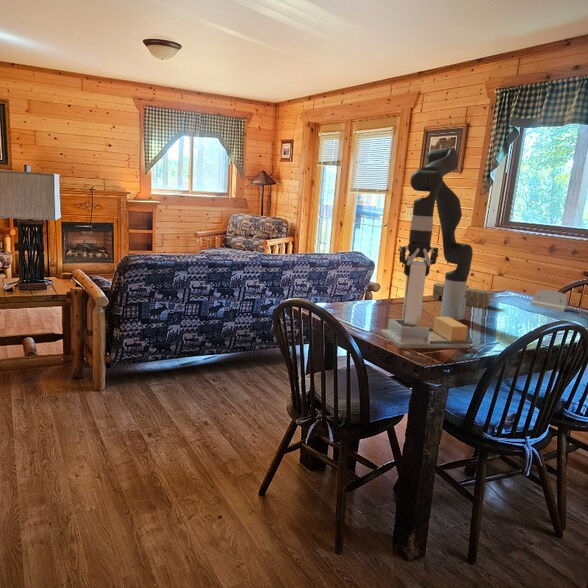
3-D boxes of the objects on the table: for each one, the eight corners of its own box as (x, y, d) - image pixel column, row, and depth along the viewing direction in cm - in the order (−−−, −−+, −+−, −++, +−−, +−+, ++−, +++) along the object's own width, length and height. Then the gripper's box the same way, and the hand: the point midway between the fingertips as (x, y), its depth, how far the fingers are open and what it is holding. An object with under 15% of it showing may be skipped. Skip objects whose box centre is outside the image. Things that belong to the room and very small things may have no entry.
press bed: (448, 333, 197) (450, 317, 196) (472, 347, 180) (474, 330, 178) (380, 333, 191) (382, 316, 190) (399, 348, 174) (401, 330, 173)
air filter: (419, 331, 180) (427, 262, 175) (401, 329, 181) (408, 261, 176) (418, 327, 186) (426, 260, 181) (401, 325, 187) (408, 258, 182)
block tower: (430, 300, 263) (487, 309, 246) (431, 284, 262) (488, 292, 245) (435, 298, 270) (491, 306, 252) (437, 282, 268) (493, 290, 251)
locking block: (447, 330, 194) (448, 316, 193) (465, 341, 181) (467, 326, 180) (432, 330, 193) (434, 316, 192) (450, 341, 180) (452, 326, 179)
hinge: (529, 304, 262) (534, 286, 262) (532, 306, 265) (537, 288, 266) (564, 311, 251) (569, 292, 251) (566, 313, 254) (571, 294, 255)
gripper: (435, 228, 181) (429, 274, 184) (397, 227, 178) (393, 273, 182) (445, 230, 174) (439, 278, 177) (406, 229, 171) (401, 277, 174)
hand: (416, 275), depth 179 cm, fingers closed on air filter, 6 cm apart
